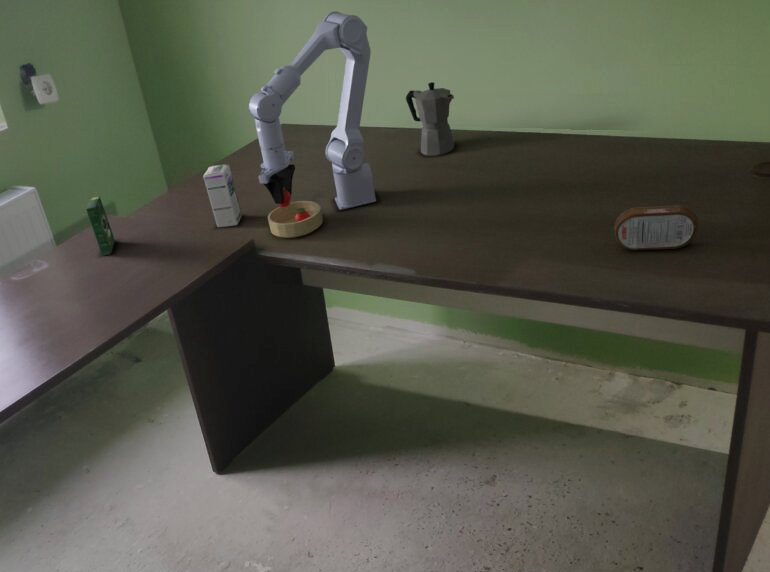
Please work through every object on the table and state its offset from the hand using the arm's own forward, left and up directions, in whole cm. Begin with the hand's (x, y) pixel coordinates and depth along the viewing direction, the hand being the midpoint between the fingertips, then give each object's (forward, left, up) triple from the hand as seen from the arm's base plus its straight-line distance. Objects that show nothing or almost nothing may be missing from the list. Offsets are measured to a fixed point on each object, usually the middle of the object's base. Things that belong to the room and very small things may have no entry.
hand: (283, 199), depth 213 cm
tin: (-68, +52, -7) cm, 86 cm away
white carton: (+15, -12, -7) cm, 20 cm away
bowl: (-2, +2, -7) cm, 8 cm away
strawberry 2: (-4, +3, -7) cm, 8 cm away
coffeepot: (-44, -28, -7) cm, 53 cm away
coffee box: (+48, -14, -7) cm, 50 cm away
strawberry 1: (0, 0, -1) cm, 1 cm away
